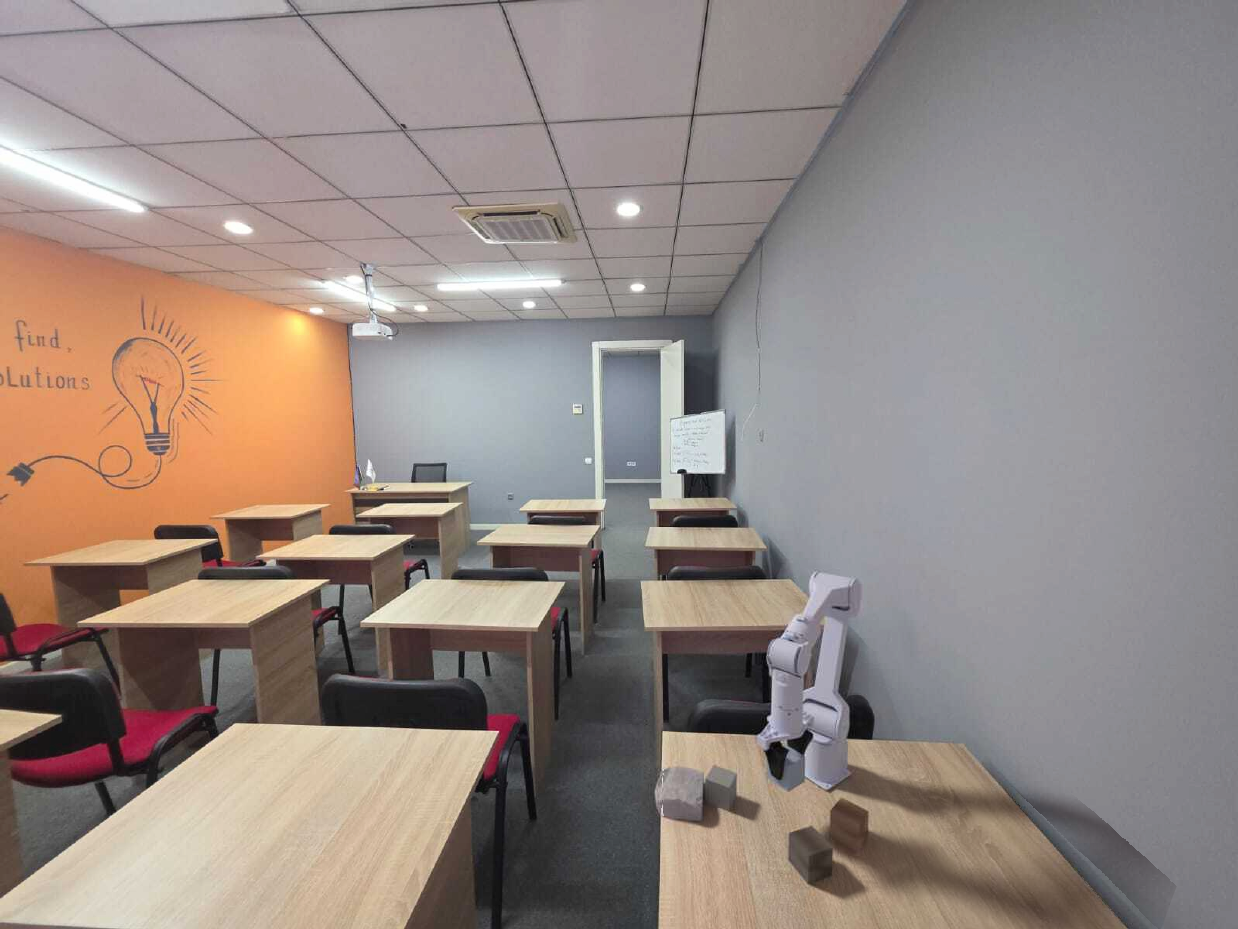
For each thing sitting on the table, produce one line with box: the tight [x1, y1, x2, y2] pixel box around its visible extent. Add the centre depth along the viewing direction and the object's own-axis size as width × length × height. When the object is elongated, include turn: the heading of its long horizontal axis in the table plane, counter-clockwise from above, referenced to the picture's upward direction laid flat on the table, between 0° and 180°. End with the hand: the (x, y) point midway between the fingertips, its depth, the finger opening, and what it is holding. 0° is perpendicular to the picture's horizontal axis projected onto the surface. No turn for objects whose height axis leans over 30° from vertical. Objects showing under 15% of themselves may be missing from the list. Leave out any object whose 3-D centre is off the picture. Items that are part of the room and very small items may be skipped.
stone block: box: [654, 765, 705, 822], centre depth 100 cm, size 12×5×10 cm
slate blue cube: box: [765, 743, 806, 793], centre depth 94 cm, size 5×5×5 cm
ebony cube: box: [787, 825, 834, 885], centre depth 84 cm, size 5×5×5 cm
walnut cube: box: [829, 796, 870, 853], centre depth 90 cm, size 5×5×5 cm
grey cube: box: [704, 764, 738, 812], centre depth 100 cm, size 5×5×5 cm
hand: (785, 771), depth 94 cm, fingers closed on slate blue cube, 5 cm apart
